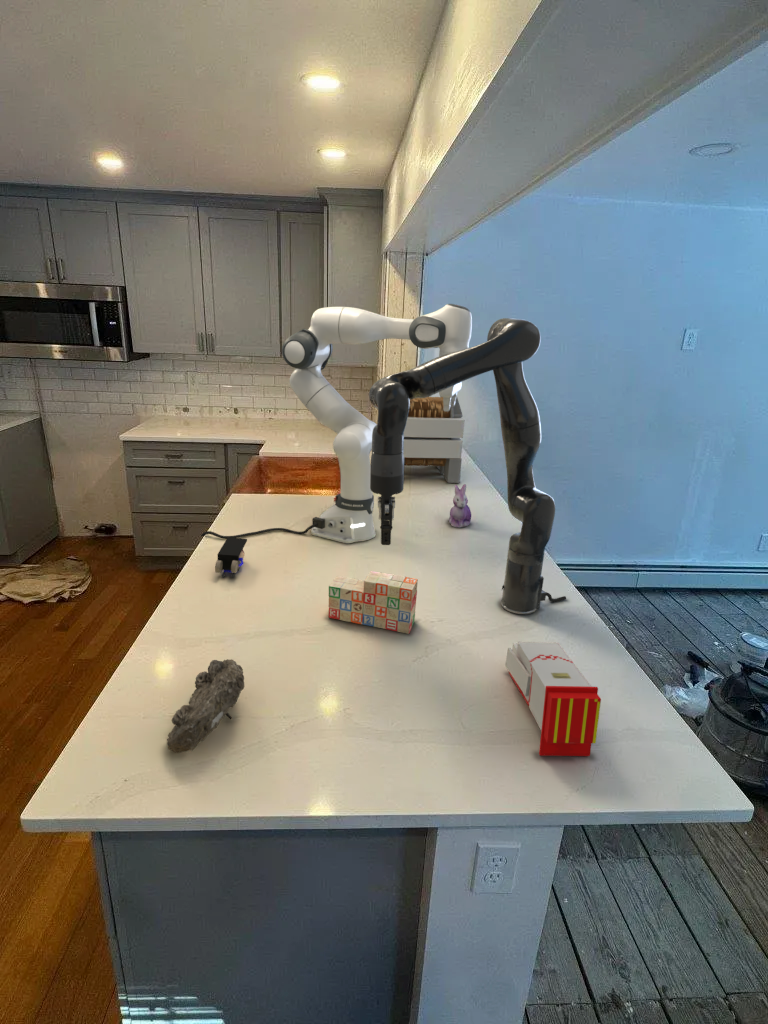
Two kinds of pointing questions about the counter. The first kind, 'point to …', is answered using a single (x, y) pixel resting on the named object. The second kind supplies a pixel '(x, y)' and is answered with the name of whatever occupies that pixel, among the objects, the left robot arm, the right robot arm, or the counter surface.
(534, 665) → the toy
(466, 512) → the figurine
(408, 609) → the stack of blocks
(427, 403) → the grey storage crate
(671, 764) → the counter surface
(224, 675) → the fossil
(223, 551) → the black wheeled block
